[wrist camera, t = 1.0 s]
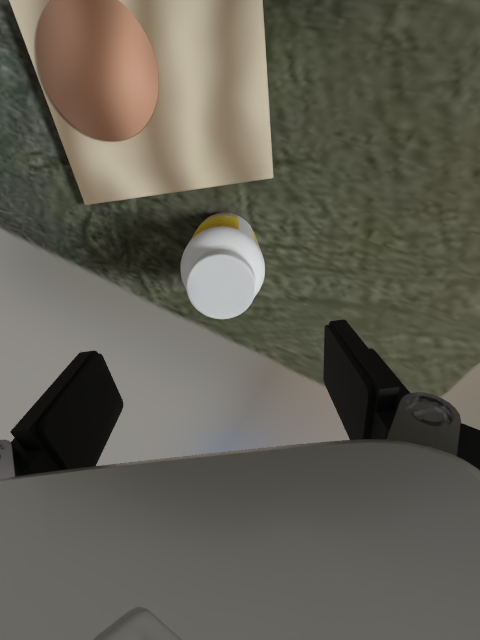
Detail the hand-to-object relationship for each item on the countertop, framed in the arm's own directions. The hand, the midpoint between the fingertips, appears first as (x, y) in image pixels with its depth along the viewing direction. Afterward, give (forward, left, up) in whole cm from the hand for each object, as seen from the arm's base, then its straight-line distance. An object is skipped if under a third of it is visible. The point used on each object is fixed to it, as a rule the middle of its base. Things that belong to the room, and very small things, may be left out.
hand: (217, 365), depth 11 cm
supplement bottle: (0, 0, -21) cm, 21 cm away
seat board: (+4, -13, -21) cm, 25 cm away
